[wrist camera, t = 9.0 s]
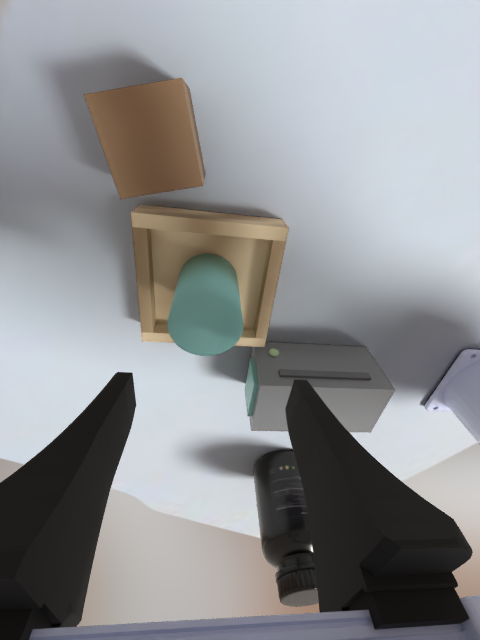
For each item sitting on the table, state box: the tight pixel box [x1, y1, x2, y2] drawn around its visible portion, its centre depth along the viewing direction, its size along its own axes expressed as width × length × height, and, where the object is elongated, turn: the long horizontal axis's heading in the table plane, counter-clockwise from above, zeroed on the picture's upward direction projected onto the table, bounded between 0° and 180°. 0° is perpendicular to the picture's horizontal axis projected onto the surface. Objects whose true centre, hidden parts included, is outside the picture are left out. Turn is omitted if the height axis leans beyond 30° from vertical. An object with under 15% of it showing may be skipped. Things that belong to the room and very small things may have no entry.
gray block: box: [245, 342, 395, 432], centre depth 24 cm, size 10×5×5 cm, turn 83°
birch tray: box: [131, 205, 289, 347], centre depth 20 cm, size 9×9×2 cm
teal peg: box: [167, 253, 243, 356], centre depth 18 cm, size 4×4×6 cm
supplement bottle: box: [254, 450, 319, 607], centre depth 30 cm, size 7×7×12 cm
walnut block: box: [84, 78, 205, 199], centre depth 14 cm, size 4×4×4 cm
